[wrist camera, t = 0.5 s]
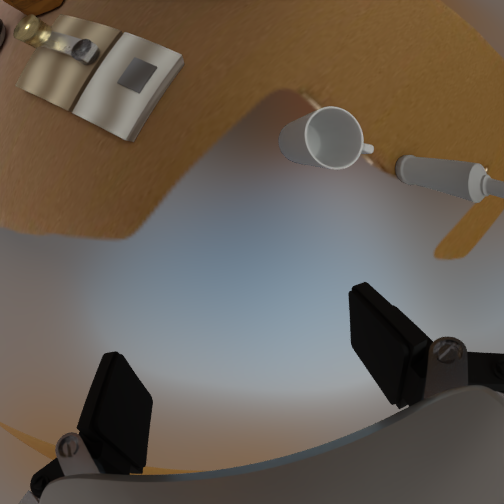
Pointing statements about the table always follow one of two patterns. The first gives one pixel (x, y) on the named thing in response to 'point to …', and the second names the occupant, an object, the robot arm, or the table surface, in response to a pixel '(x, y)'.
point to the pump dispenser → (2, 32)
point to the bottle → (449, 177)
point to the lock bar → (55, 40)
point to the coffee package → (34, 5)
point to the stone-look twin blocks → (103, 77)
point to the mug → (324, 139)
